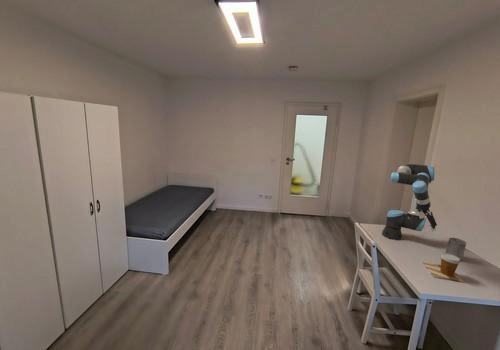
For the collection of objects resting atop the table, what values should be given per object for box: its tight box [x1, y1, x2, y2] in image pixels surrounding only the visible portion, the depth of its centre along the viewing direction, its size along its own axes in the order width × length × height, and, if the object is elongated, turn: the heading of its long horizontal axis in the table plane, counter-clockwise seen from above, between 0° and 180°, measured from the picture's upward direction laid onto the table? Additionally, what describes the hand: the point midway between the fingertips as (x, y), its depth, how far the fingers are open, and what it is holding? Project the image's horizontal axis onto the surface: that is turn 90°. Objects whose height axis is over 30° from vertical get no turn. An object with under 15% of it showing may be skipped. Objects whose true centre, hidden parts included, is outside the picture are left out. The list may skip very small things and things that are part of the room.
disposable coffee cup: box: [440, 252, 461, 277], centre depth 147 cm, size 10×10×12 cm
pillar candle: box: [445, 237, 467, 262], centre depth 168 cm, size 10×10×15 cm
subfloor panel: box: [422, 261, 465, 284], centre depth 151 cm, size 17×16×1 cm
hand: (427, 224), depth 162 cm, fingers open, 13 cm apart
